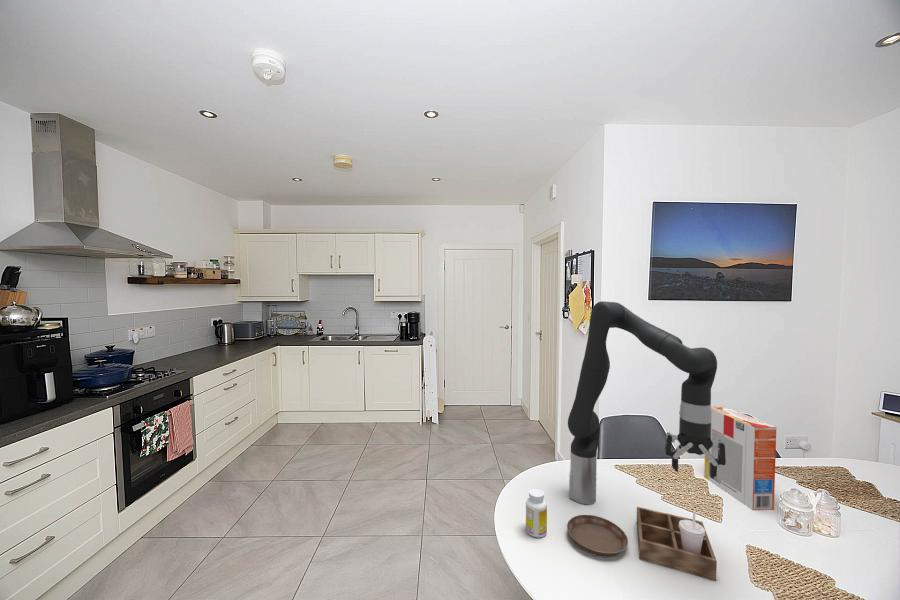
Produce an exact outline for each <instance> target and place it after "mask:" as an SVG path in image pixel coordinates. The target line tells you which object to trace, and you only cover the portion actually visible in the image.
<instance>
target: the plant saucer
mask: <svg viewBox="0 0 900 600" xmlns="http://www.w3.org/2000/svg"><path fill="white" fill-rule="evenodd" d="M566 529H567V532H568V534H569V536H570V538H571V539H572V541H573V542H574V543H575V544H576V545H577V546H578V547H579V548H581V549H582V550H583V551H584V552H586V553H589V554H591V555H594V556H597V557H601V558H612V557H616V556H618V555H619V554H621V553H622V552H624V550H625V549H627V547H628V545H629V539H628V536H627V535H626V533H625V531H624V530H623V529H622V528H621V527H620V526H618V525H617V524H616V523H614V522H612V521H611V520H608V519H606V518H604V517H601V516H597V515H592V514H578V515H575V516H573V517H571V518H570V519H569V520H568V522H567V524H566Z"/></svg>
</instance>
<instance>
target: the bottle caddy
mask: <svg viewBox="0 0 900 600" xmlns="http://www.w3.org/2000/svg"><path fill="white" fill-rule="evenodd" d="M681 520H690V521H693V518H688V517H683V516H681V515H674V514H670V513H667V512H662V511H658V510H653V509H649V508H644V507H640V506H636V531H637V533H636V534H637V544H638V546H637V547H638V557H639V558H638V559H639V560H640V561H645V562H648V563H652V564H655V565H658V566H661V567H662V566H663V567H665V568H669V569H673V570H676V571H680V572H684V573H686V574H691V575H694V576H697V577H701V578H704V579H708V580H711V581H716V582H717V566H718V565H717V562H718V561H717V559H716V556H715V553H714V550H713V547H712V544H711V542H710V538H709V536H708V533H707V531H706V528H705V525H704V522H703V521H700V520H697V519H695V522H696V523H698V524H700V525H701V526H702V527H703V528H704V529H705V536H703V542H702V547H701V553H700V555H699V554H695V553H691V552H687V551H683V549H682V541H681V532H680V528H679V521H681Z"/></svg>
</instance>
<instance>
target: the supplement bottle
mask: <svg viewBox="0 0 900 600" xmlns="http://www.w3.org/2000/svg"><path fill="white" fill-rule="evenodd" d="M544 498H545V493H544V491H543V490H541V489H537V488H533V489H530V490H529V491H528V498H527V499H526V501H525V531H526V533H527V534H528V535H529V536H530V537H532V538H533V537H534V538H544V537H545V536H546V535H547V533H548V532H547V531H548V508H547V507H548V503H547V501H546V500H545V499H544Z"/></svg>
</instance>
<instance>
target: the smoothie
mask: <svg viewBox="0 0 900 600" xmlns="http://www.w3.org/2000/svg"><path fill="white" fill-rule="evenodd" d="M692 519H693V521H690V520H681V521H679V528H680V532H681V541H682V549H683V551H687V552H691V553H695V554H699V555H700V553H701V547H702V542H703V536H705V530H706V528H705V527H704V528H705V529H704V528H703V527H702V526H701V525H700V524H698V523H696V522H695V520H696V511H694V510H693V511H692Z"/></svg>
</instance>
